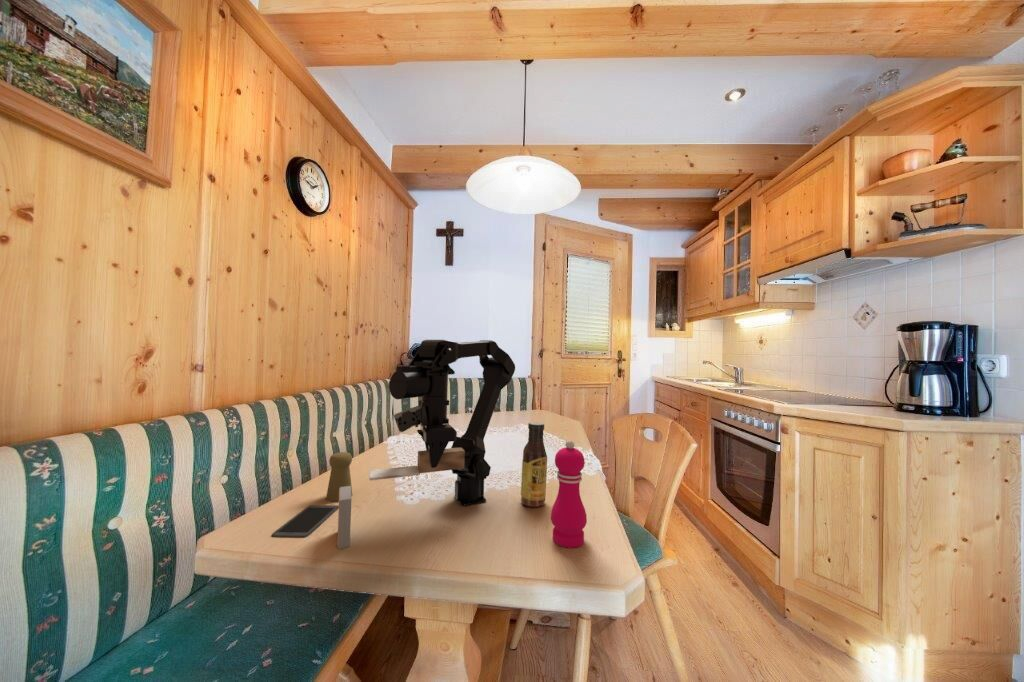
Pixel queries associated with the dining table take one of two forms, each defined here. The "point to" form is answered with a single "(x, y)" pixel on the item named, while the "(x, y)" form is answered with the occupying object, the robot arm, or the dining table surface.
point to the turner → (423, 465)
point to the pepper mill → (569, 498)
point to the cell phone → (305, 521)
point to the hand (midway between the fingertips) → (432, 465)
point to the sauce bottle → (534, 467)
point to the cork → (339, 475)
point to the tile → (344, 517)
